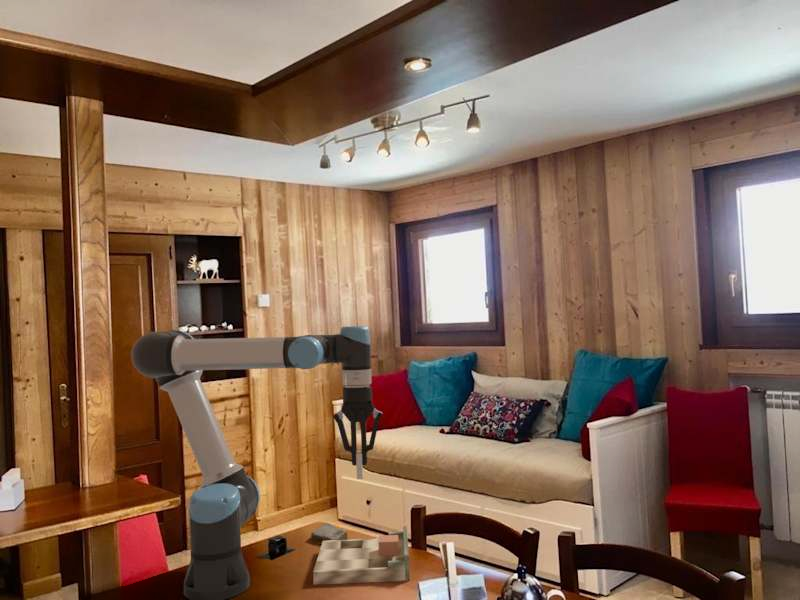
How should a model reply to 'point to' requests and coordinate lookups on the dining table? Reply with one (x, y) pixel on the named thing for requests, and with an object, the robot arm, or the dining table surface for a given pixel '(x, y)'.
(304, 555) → the dining table surface
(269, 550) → the black bracket on plate
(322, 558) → the beige divided tray
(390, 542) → the block
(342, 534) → the stone
